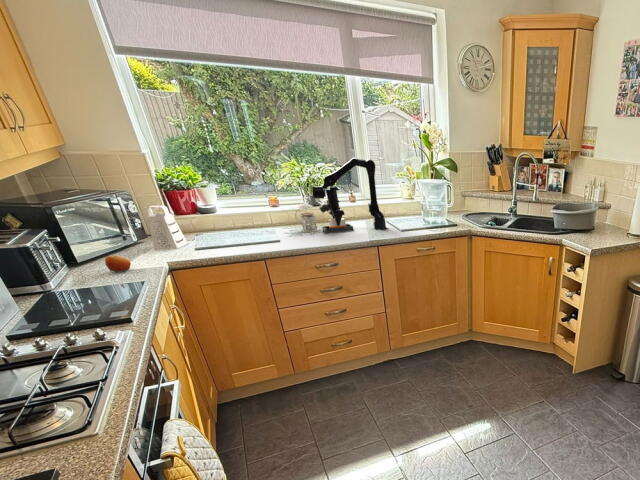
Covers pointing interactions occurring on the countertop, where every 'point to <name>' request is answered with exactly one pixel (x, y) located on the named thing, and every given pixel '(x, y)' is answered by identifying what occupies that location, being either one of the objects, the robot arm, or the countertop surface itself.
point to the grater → (165, 230)
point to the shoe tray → (337, 229)
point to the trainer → (334, 225)
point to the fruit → (117, 263)
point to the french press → (309, 217)
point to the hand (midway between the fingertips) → (337, 225)
